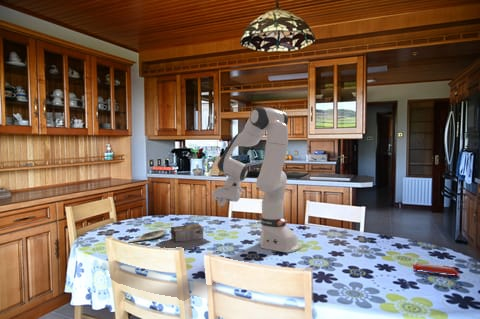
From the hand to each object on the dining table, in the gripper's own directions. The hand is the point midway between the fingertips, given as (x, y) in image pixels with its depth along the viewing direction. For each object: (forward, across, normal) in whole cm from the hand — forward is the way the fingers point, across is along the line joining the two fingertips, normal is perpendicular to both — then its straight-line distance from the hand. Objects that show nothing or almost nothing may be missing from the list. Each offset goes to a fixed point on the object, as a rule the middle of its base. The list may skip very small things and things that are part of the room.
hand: (220, 205), depth 188 cm
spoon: (+39, -23, -18) cm, 49 cm away
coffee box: (+18, -2, -1) cm, 18 cm away
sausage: (+3, +106, +28) cm, 110 cm away
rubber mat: (+30, -1, -8) cm, 31 cm away
